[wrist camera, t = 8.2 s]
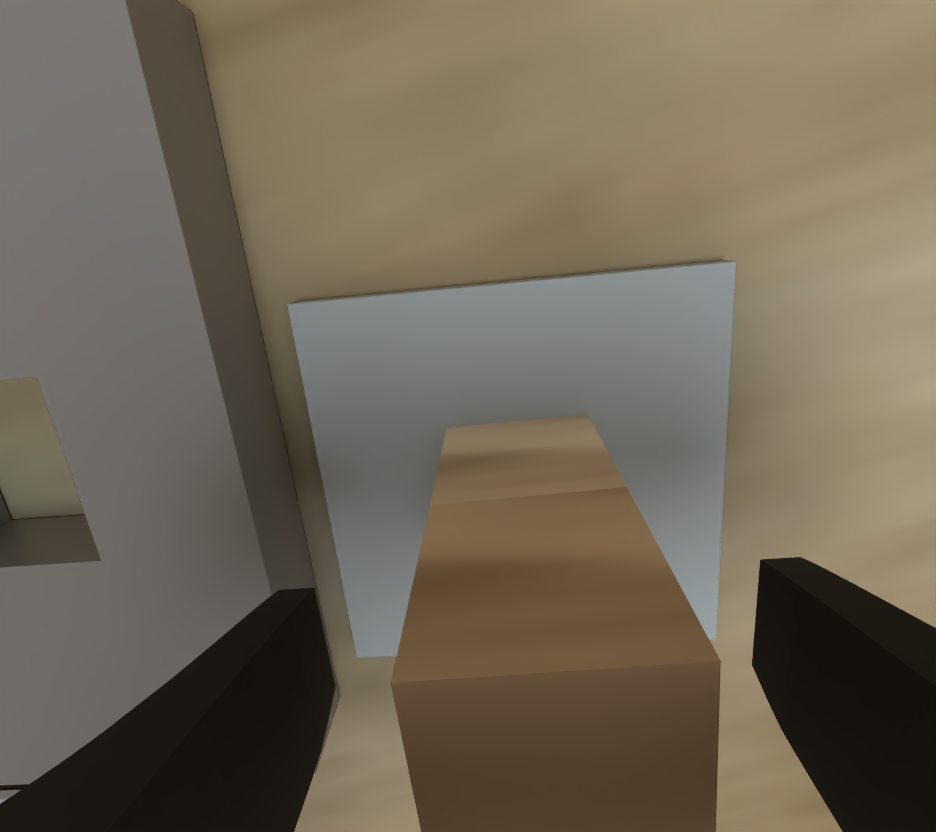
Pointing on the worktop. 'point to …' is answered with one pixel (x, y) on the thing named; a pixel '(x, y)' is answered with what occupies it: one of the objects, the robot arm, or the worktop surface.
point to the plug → (551, 648)
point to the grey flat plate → (128, 375)
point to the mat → (518, 409)
